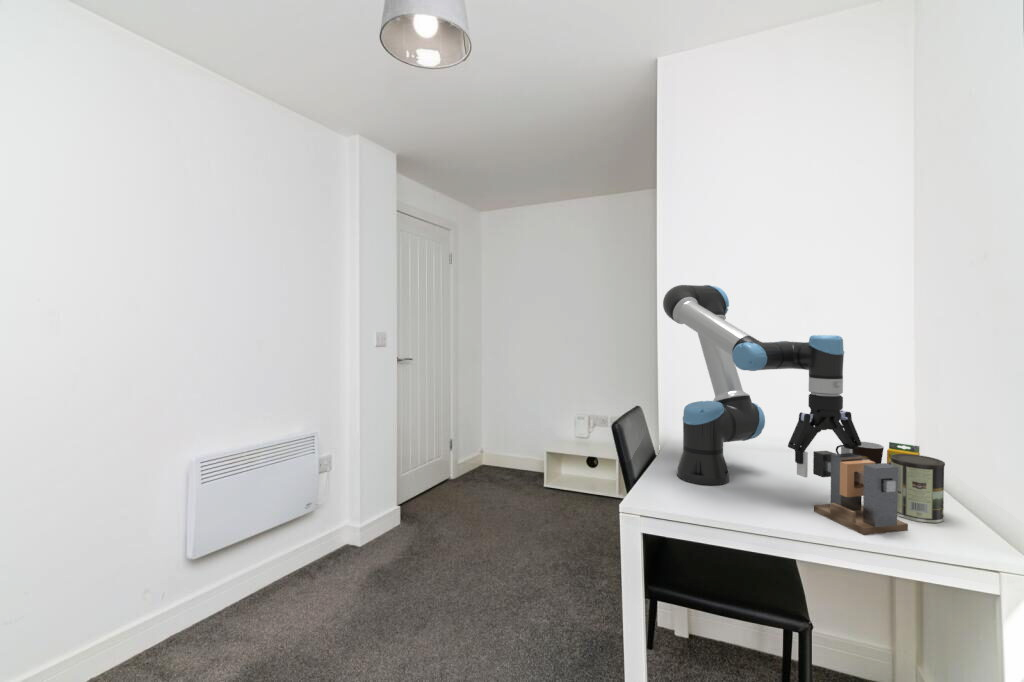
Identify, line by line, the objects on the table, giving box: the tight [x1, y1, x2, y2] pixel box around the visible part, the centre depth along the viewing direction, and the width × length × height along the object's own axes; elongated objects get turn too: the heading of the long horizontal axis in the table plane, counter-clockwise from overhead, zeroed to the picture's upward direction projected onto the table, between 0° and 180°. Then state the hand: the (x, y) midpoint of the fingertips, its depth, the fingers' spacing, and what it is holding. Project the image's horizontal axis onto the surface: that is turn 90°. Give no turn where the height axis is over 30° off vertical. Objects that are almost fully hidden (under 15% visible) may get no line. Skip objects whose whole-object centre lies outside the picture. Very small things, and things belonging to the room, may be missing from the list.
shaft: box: [812, 450, 896, 492], centre depth 116 cm, size 20×4×6 cm, turn 11°
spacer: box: [840, 460, 875, 497], centre depth 115 cm, size 2×8×8 cm, turn 101°
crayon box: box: [886, 441, 921, 465], centre depth 141 cm, size 7×3×12 cm, turn 43°
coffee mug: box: [835, 441, 885, 464], centre depth 149 cm, size 12×9×10 cm
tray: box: [813, 503, 909, 536], centre depth 115 cm, size 14×12×4 cm
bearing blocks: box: [829, 453, 898, 527], centre depth 114 cm, size 12×6×14 cm, turn 11°
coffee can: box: [891, 454, 946, 524], centre depth 118 cm, size 10×10×14 cm
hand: (824, 474), depth 124 cm, fingers open, 13 cm apart
